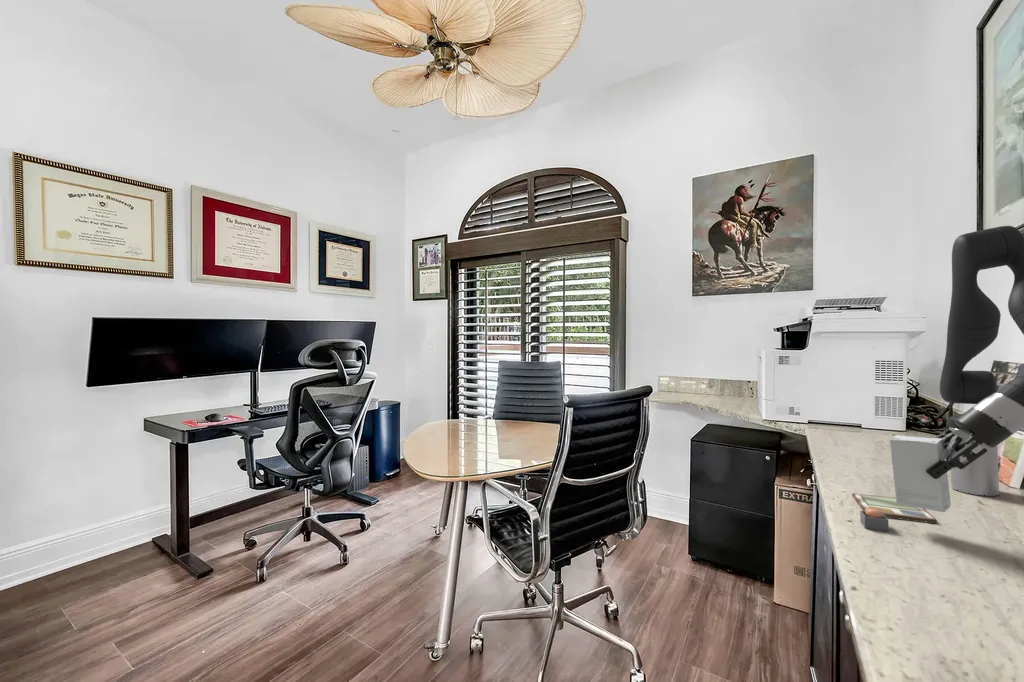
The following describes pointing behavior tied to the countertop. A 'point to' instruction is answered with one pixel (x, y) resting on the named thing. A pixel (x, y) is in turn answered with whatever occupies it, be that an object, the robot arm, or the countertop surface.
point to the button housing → (874, 522)
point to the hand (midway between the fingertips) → (923, 470)
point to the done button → (873, 513)
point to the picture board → (892, 508)
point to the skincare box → (919, 473)
